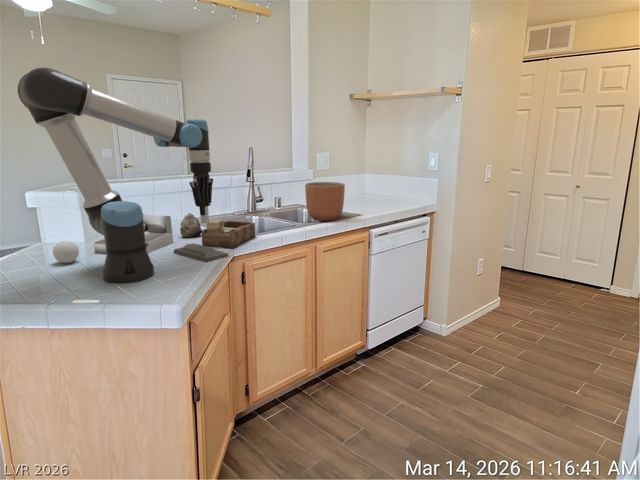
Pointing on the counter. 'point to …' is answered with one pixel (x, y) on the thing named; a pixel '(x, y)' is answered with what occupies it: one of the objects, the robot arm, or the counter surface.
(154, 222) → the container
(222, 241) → the trap box
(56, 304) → the counter surface
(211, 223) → the block
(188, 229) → the rock
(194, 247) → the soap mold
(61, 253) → the ball
